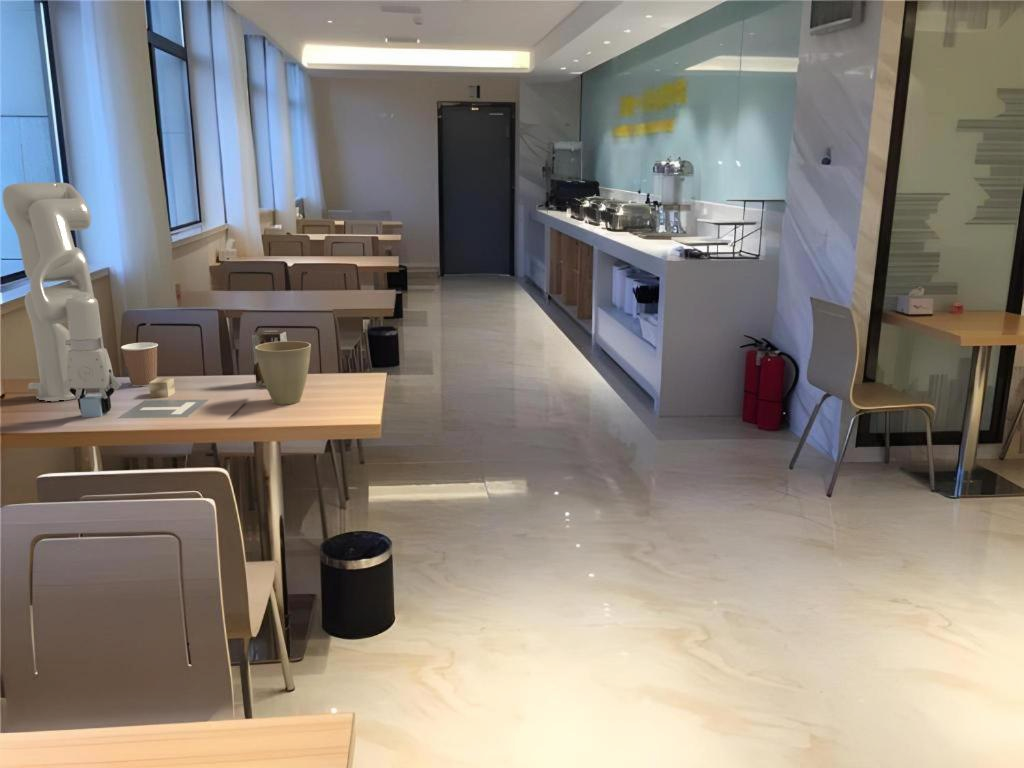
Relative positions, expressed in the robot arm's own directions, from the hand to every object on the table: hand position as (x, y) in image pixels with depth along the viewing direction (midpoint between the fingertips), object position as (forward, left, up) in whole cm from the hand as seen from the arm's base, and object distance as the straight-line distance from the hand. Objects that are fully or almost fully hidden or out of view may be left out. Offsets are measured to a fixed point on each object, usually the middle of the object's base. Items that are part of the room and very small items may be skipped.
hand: (95, 411), depth 220 cm
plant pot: (+47, +13, -2) cm, 49 cm away
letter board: (+16, +5, -1) cm, 17 cm away
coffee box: (+38, +34, -2) cm, 51 cm away
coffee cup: (-2, +36, -2) cm, 36 cm away
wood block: (+10, +20, -2) cm, 22 cm away
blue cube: (0, 0, -1) cm, 1 cm away
